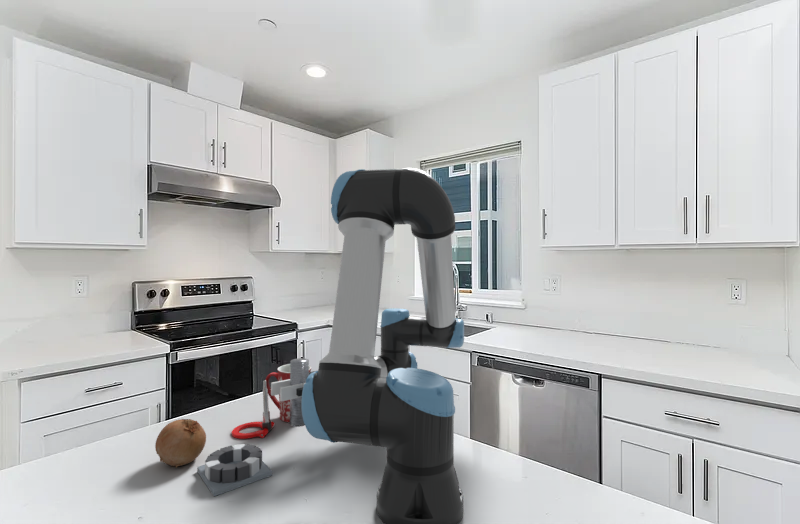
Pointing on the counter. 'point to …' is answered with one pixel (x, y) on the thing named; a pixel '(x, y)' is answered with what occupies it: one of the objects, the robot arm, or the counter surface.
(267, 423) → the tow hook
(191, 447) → the onion
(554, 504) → the counter surface
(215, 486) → the chuck
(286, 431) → the counter surface
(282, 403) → the mug
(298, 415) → the steel rod
